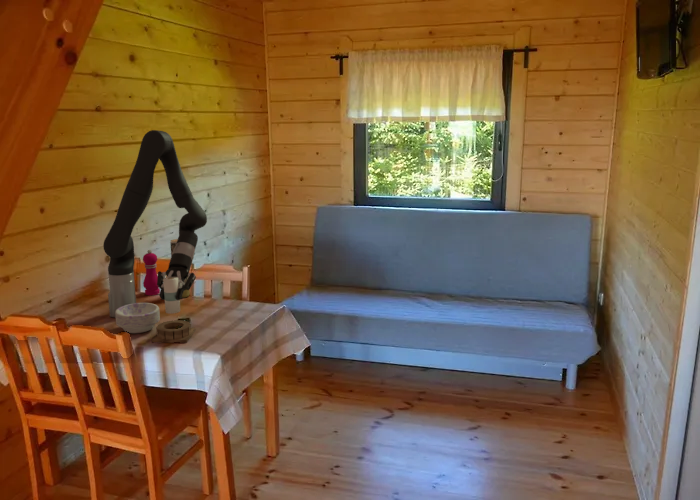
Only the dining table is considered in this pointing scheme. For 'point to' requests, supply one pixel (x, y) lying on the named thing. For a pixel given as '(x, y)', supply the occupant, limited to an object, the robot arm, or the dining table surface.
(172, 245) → the bark covered cylinder
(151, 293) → the pepper mill
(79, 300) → the dining table surface
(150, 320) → the paper bowls
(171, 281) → the roll
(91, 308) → the dining table surface
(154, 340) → the holder
